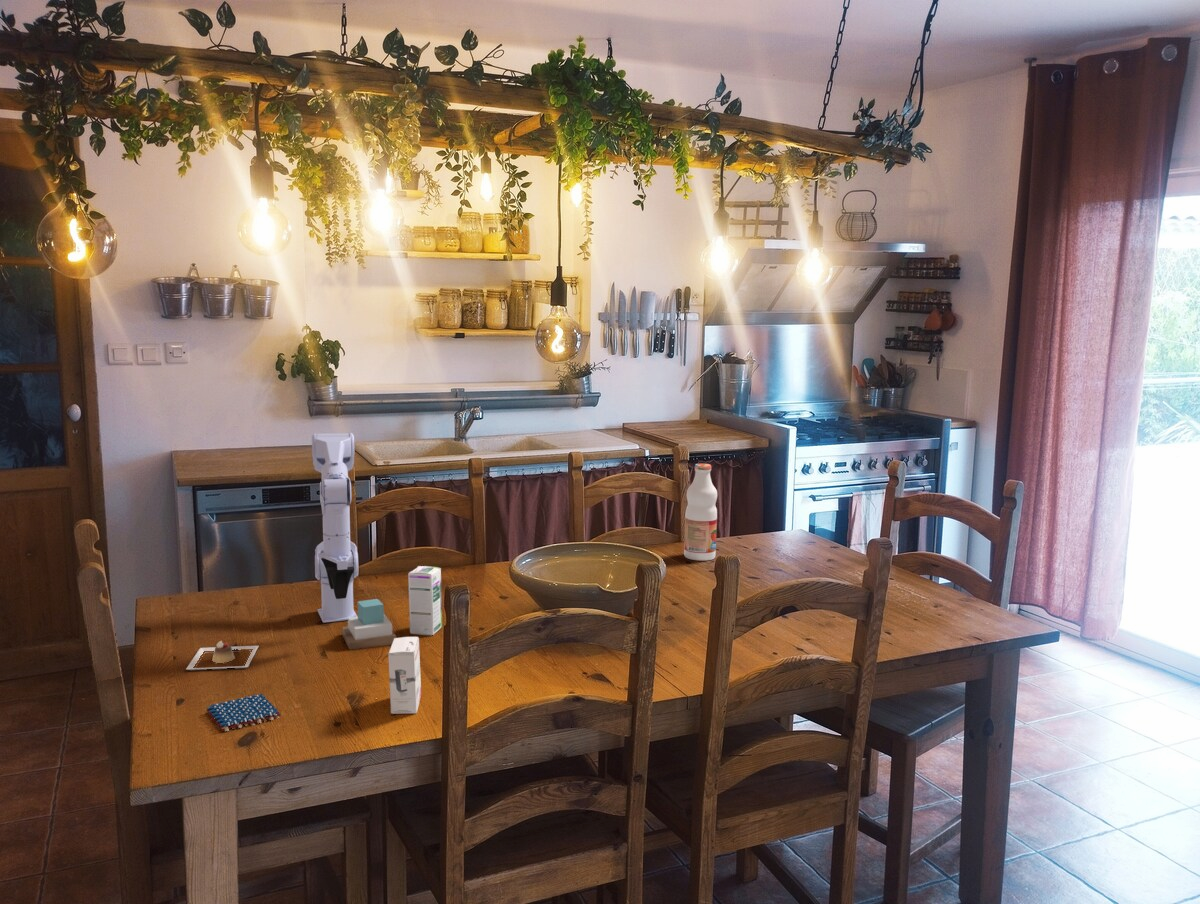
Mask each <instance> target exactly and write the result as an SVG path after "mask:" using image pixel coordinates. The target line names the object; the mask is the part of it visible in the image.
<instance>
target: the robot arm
mask: <svg viewBox="0 0 1200 904" xmlns="http://www.w3.org/2000/svg"><path fill="white" fill-rule="evenodd" d="M355 449H356V448H355V435H354V434H353V433H352V432H349V433H348V432H346V433H345V432H344V433H340V432H339V433H315V432H314V433H313V434H312V435H311V456H312V462H313V463H312V466H313V467H314V470H315V471H316V472H319V473H320V474H321V481H320V483H319V500H320V501H319V502H320V506H321V507H320V508H321V514H322V540H323V541H321V542H320V543H319V544H317V546H316V547H315V549H314V552H315V553H314V554H315V555H314V575H315V579H317V581H320V588H321V589H320V590H321V591H320V592H321V595H320V596H321V608H318V609H317V613H318V615H319V617H320V619H321V621H322V623H332V622H342V621H348V618H349V617H357V616H358V614H357V613H356V611H355V610H354V579H355V578H357V577H358V576H359V553H358V547H357V545H356V544H355V542H353V541H351V517H350V515H351V514H350V512H351V511H350V510H351V509H350V507H351V506H350V505H351V503H352V482H351V479H350V477H349V472H350V471H351V470H353V469H354V467H353V466H354V465H355Z"/></svg>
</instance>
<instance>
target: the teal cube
mask: <svg viewBox="0 0 1200 904" xmlns="http://www.w3.org/2000/svg"><path fill="white" fill-rule="evenodd" d="M384 610H385V609H384V603H383V602H381V600H380V599H378V598H374V599H367V600H359V601H357V616H358V620H359V621H360V622H361V623H362V624H363V625H367V624H373V623H380V622H384V614H385V612H384Z"/></svg>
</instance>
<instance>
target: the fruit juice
mask: <svg viewBox="0 0 1200 904" xmlns="http://www.w3.org/2000/svg"><path fill="white" fill-rule="evenodd" d="M711 471H712V465H711V464H709V463H695V464H694V472H695V474H694V477H693V481H692V483H691V484H690V485H689V486H688V488H687V490H686V499H687V506H686V508H685V514H684V515H685V516H684V541H683V542H684V544H683V555H684V557H685V558H686V559H689V560H692V561H701V562H703V561H711V560H714V559H715V558H716V555H717V554H716V553H717V551H716V550H717V529H718V528H717V525H718V508H717V507H716V505H717V504H716V503H717V499H718V490H717V489H716V487H715V486H714V484H713V482H712V481H713V480H712V477H711Z"/></svg>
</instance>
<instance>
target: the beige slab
mask: <svg viewBox="0 0 1200 904" xmlns="http://www.w3.org/2000/svg"><path fill="white" fill-rule="evenodd" d="M341 631H342V633H341V634H342V637H343V639H344V642H345V643H346V645H347V647H348V650H349V649H350V650H349V651H351V649H353V650H359V649H360V648H361V649H367V648H375V647H382V646H383V647H385V646H392V643H393V640H394V638H397V635H396V634H395V632H394V630H393V629H392V635H389V636H382V637H374V638H367V639H360V640H355V638H354V637H353V635H352V634H351V632H350V631H349V629H348V625H346V626H342V628H341Z"/></svg>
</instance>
